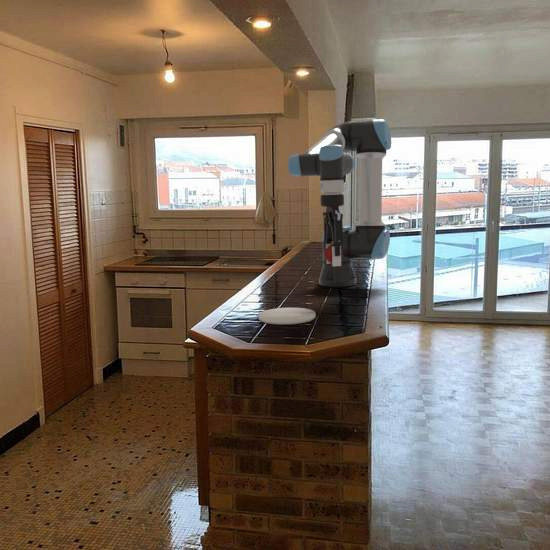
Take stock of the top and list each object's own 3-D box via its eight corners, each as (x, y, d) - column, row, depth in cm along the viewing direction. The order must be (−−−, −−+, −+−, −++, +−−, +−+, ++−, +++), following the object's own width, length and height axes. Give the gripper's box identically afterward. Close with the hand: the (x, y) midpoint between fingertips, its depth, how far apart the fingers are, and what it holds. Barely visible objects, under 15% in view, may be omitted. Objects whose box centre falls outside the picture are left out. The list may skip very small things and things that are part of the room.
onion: (331, 263, 200) (331, 240, 199) (346, 264, 196) (345, 240, 195) (321, 266, 195) (321, 241, 194) (336, 267, 192) (335, 242, 191)
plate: (307, 309, 198) (307, 305, 198) (322, 321, 181) (322, 317, 181) (254, 313, 195) (253, 310, 194) (264, 326, 177) (264, 322, 177)
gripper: (313, 193, 200) (315, 261, 204) (329, 194, 182) (331, 269, 186) (334, 192, 202) (335, 260, 206) (352, 193, 184) (354, 267, 187)
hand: (333, 264), depth 196 cm, fingers closed on onion, 6 cm apart
